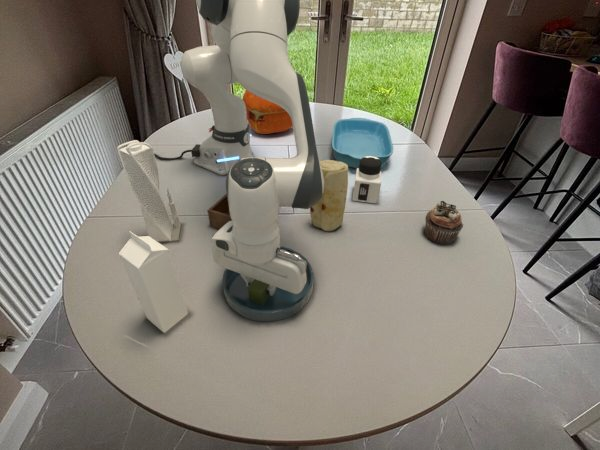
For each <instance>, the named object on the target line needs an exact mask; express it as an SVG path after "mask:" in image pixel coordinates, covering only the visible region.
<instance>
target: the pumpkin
mask: <svg viewBox="0 0 600 450" xmlns="http://www.w3.org/2000/svg"><path fill="white" fill-rule="evenodd" d="M242 100H243V101H244V102H245V104H246V111H247V123H248V125H249V126H250V127H251V129H253V131H254V132H256V133H258V134H260V135H271V134H275V133H282V132H286V131H288V130H290V129H291V128H293V125H292V120H291V117H290V115H289V114H288V112H287V111H286V110H285V109H283V108H282V107H280V106H279V105H277V104H275V103H273V102H270V101H268V100H265V99H263V98H260V97H258V96H256V95H254V94H252V93H250V92H249V91H247V90H246V89H245V91H244V94H243V97H242Z"/></svg>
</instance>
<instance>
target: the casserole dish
mask: <svg viewBox="0 0 600 450" xmlns="http://www.w3.org/2000/svg"><path fill="white" fill-rule="evenodd" d="M332 127H333V128H332V137H331V147H332V151H333V155H334V158H335V161H338V162H343V163H345V164H347V165H348V168H350V169H351V168H352V169H357V168H359V164H360V159H362V158H363V157H366V156H373V157H376V158H379V159H380V160H381V162H382V166H381V168H382V167H384V166H385V165H386V164H387V163H388V161H389V159H390V157H391V156H392V155H393V153H394V146H393V140H392V137H391V133H390V129H389V126H387V125H386V124H385V123H384V122H381V121H379V120H373V119H369V118H366V117H352V118H342V119H338V120H337V121H335V122H334V124H333V126H332Z"/></svg>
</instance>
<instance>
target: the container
mask: <svg viewBox="0 0 600 450" xmlns="http://www.w3.org/2000/svg"><path fill="white" fill-rule="evenodd" d="M381 166H382V162H381V160H380V159H379V158H376V157H373V156H366V157H363V158H362V159H360V164H359V168H356V171H355V178H354V186H353V191H352V199H351V200H352V201H354V202H361V203H369V204H378V202H379V201H378V200H379V197H380V191H381V190H380V189H381V185H382V167H383V166H382V167H381Z"/></svg>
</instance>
